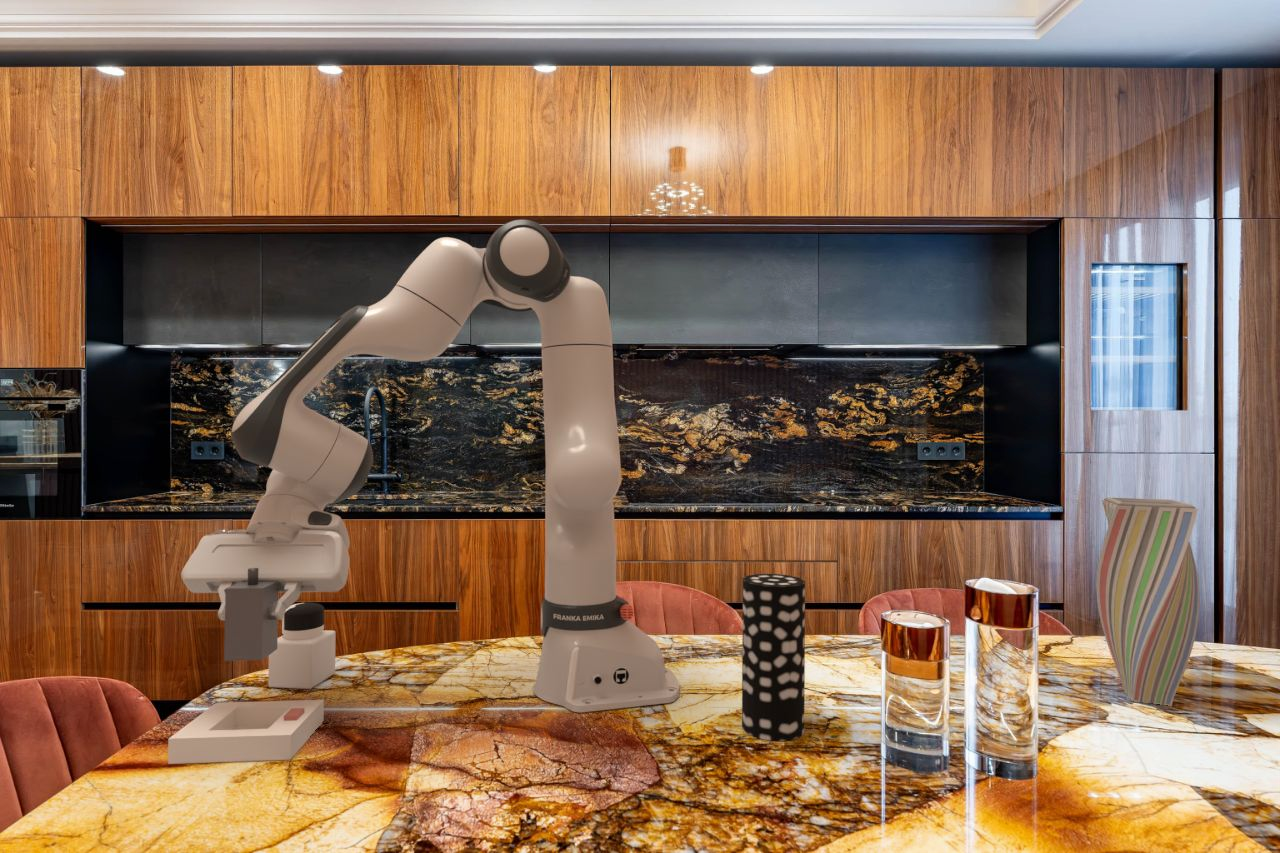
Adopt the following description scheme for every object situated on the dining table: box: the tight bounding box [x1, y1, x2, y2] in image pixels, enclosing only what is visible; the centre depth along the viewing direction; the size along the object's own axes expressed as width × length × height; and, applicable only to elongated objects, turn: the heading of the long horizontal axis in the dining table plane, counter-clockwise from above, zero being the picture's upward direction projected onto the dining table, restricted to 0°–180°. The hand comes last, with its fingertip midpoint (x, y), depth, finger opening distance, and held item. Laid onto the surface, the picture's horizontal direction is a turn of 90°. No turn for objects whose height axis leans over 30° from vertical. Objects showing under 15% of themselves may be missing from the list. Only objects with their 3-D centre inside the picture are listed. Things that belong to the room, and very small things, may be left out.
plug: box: [223, 568, 279, 662], centre depth 89 cm, size 4×4×11 cm
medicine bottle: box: [268, 602, 337, 690], centre depth 110 cm, size 7×7×12 cm
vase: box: [1095, 496, 1200, 707], centre depth 105 cm, size 14×14×30 cm
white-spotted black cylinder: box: [741, 573, 806, 742], centre depth 94 cm, size 8×8×20 cm
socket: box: [167, 699, 325, 765], centre depth 88 cm, size 14×11×4 cm
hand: (249, 618), depth 88 cm, fingers closed on plug, 4 cm apart
